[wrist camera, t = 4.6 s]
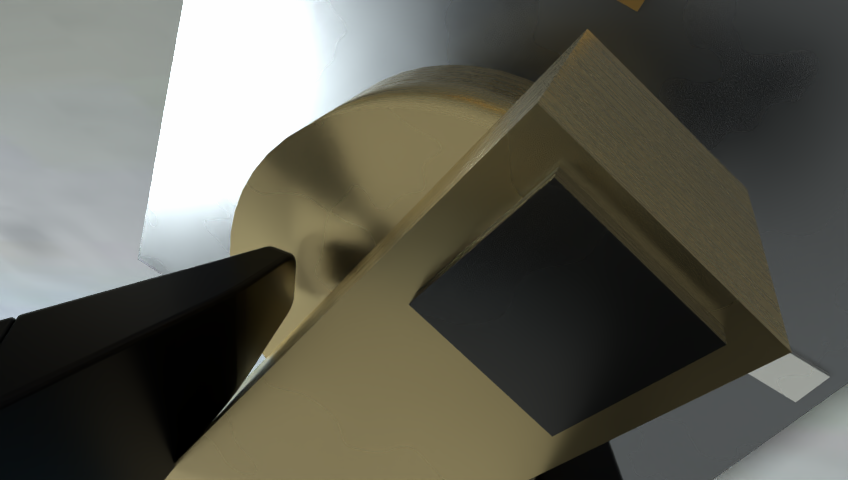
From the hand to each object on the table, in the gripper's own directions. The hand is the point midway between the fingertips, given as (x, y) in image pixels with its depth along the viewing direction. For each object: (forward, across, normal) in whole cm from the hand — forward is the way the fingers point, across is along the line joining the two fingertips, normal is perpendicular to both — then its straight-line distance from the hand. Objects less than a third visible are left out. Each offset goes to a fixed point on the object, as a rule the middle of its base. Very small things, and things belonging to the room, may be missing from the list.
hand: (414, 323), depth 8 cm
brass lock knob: (+3, 0, 0) cm, 3 cm away
